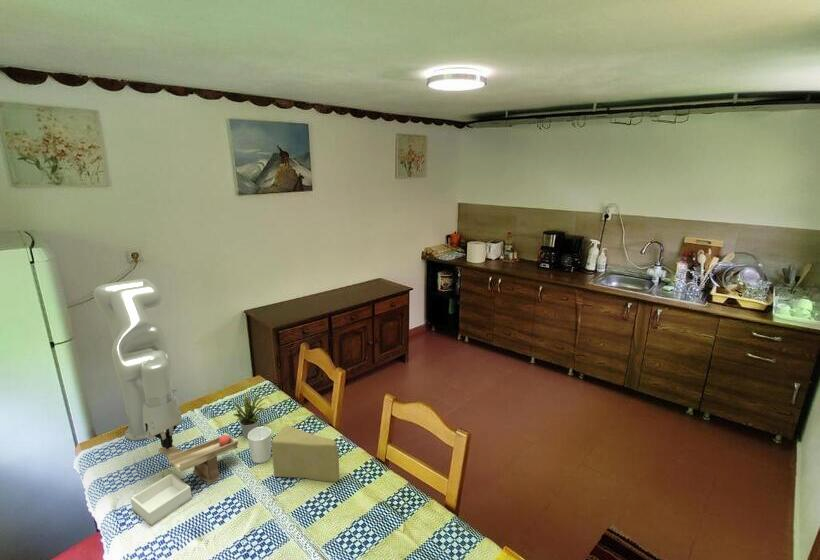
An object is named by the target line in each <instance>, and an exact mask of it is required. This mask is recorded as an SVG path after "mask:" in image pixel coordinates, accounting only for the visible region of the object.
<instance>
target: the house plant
mask: <svg viewBox="0 0 820 560" xmlns="http://www.w3.org/2000/svg"><path fill="white" fill-rule="evenodd" d="M259 394H260V391H259V392H257V394H256V395H255V397H254V399H253V402H252V401H251V400H252V398H250V397H249V394H245V393H244V394H243V406H244V410H243V409H242V408H241V406H239V405H238V404H236V403H234V402H229V403H230V404H232V405H233V406H235V407H236V408H234V410H235V411H236V412H237V413H233V414H232V415H233V416H234V417H237V419H236V422H238V421H239V424H240V428H241V433H242V434H243V437H244V438H246V439H248V433H249V432H250V431H251V430H252V429H254V428H257V427H259V424H260V423H259V422H260V418H259V415H260V413H261V412H262V411H264V410H265V409H268V407H262V406H263V405H266V404H267V403H266V402H265V403H262V401H264V400H266V399H269V396H268V397H264V398H261V399H259V397H260V395H259ZM258 399H259V400H258ZM251 402H252V403H251ZM260 403H261V404H260ZM259 404H260V405H259Z"/></svg>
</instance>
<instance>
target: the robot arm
mask: <svg viewBox="0 0 820 560" xmlns="http://www.w3.org/2000/svg"><path fill="white" fill-rule="evenodd" d="M93 298H94V301H95V303H96V305H97V307H98V309H99V310H100V312H101V313H102V314H103V315H104V317H105V318H106V320H107V324H108V325H109V331H110V334H111V338H112V342H113V343H112V349H111V358H112V362H113V365H114V368H115V369H114V370H115V374H116V377H117V380H118V383H119V384H120V387H121V391H122V392H121V393H122V398H123V402H124V406H125V407H124V408H125V412H126V418H127V424H128V428H127V429H126V430H125V432H124V435H125V438H126V439H127V440H128V441H134V442H135V441H136V442H137V441H144V440H147V439H148V440H153V439H155V438H156V439H159V441H160V446H161V448H162V447H164V448H166V449H169V448H170V447H172V445H173V443H174V440H173V435H174V432H175V430H176V429H177V427H179V426H180V425H181V424H182V423H183V421H182V419H183V418H182V411H181V408H180V404H179V401H178V398H177V397H176V395H175V392H177V391H178V389H177V387H176V386H174V387H173V384H172V383H173V382H172V378H171V367H172V363H171V358H170V354H169V351H168V346H167V342H166V338H165V333H164V331H163V329H162V328H161V325H159V324H157V323H156V322H150V320H149V317H148V315H147V312H146V309H151V308H156V307H159V305H161V302H162V297H161V293H160V291H159V289H158V288H157V286H156V285H155V284H154V283H153V282H151V281H150V280H149V279H147V278H137V279H130V280H124V281H116V282H111V283H110V282H109V283H105V284H101V285H99V286H97V287H95V289H94V290H93ZM149 349H150V350H151V349H152V351H149V352H146V353H140V354H137V355H134V356H129V357H126V358H125V357H124V355H127V354H128V355H129V354H132V353H137V352H141V351H145V350H149Z"/></svg>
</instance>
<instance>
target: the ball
mask: <svg viewBox="0 0 820 560" xmlns="http://www.w3.org/2000/svg"><path fill="white" fill-rule="evenodd" d="M220 436H221V437H220ZM220 436H219V437H220V438H219V444H220V445H221V446H225V445H227V444H228V443H229V441H230V439H229V437H228V436H227V435H223V436H222V435H220Z"/></svg>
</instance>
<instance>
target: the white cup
mask: <svg viewBox="0 0 820 560" xmlns="http://www.w3.org/2000/svg"><path fill="white" fill-rule="evenodd" d="M247 441H248V447H249V453H250V457H251V461H252V462H253V463H256V464H261V463H266V462H267V461H268V460H269V459H271V457H272V429H271V428H270V427H268V426H258V427H257V428H254V429H252V430H251V431H250V432H249V433H248V438H247Z"/></svg>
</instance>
